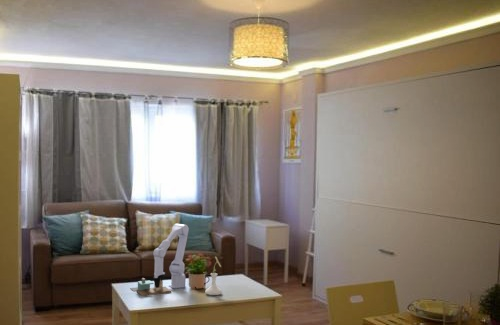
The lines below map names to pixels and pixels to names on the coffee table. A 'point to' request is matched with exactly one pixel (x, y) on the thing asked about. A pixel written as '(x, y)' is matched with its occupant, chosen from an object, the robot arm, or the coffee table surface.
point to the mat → (134, 289)
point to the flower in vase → (213, 288)
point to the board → (153, 291)
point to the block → (159, 286)
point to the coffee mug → (208, 278)
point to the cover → (144, 284)
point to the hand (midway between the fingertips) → (158, 286)
